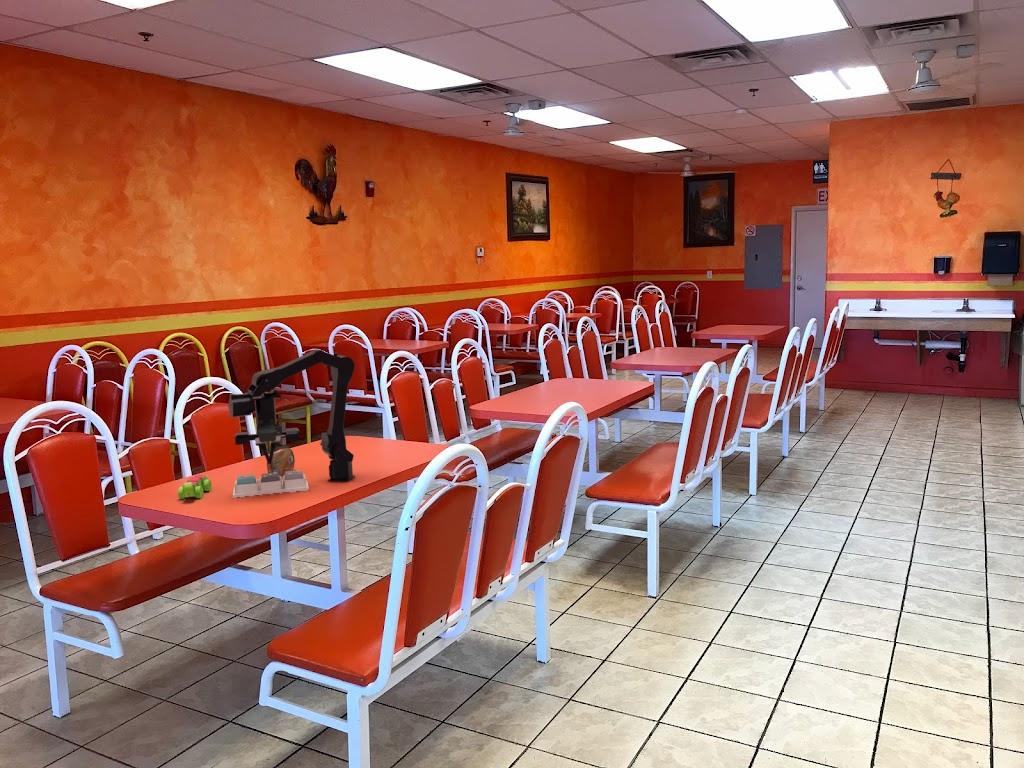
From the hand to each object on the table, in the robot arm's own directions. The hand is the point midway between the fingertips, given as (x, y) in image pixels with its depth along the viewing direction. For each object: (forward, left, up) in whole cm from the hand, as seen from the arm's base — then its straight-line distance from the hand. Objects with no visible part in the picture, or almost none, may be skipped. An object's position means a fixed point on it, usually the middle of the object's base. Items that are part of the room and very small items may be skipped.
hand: (269, 463), depth 255 cm
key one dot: (+6, +4, -6) cm, 9 cm away
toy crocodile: (+21, +7, -9) cm, 24 cm away
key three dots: (0, 0, -6) cm, 6 cm away
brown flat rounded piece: (+7, -19, -9) cm, 22 cm away
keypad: (0, 0, -8) cm, 8 cm away
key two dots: (-6, -3, -6) cm, 9 cm away
